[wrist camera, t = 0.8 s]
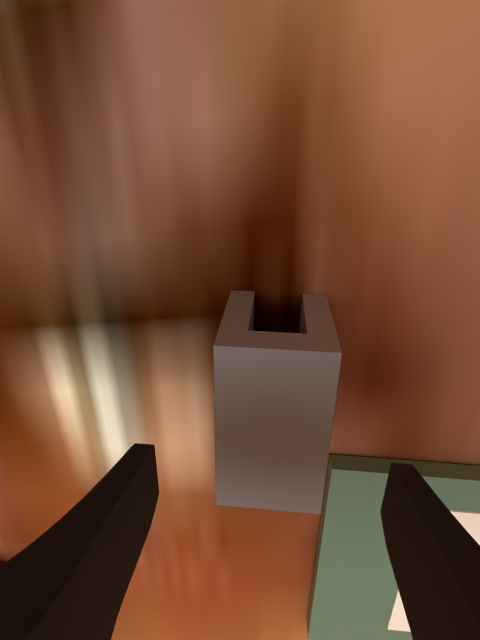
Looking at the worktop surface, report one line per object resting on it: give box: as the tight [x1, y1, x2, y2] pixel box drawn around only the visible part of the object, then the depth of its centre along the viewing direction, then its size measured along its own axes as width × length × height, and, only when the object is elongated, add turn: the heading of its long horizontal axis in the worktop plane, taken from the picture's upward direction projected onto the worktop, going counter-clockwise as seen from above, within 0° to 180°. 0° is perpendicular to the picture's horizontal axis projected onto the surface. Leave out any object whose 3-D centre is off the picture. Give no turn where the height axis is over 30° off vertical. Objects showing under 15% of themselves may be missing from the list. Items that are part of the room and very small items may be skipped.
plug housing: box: [213, 290, 342, 514], centre depth 16 cm, size 4×7×5 cm, turn 179°
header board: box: [307, 454, 480, 640], centre depth 21 cm, size 16×14×4 cm
